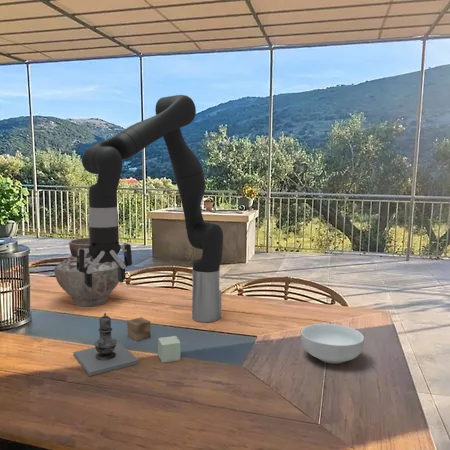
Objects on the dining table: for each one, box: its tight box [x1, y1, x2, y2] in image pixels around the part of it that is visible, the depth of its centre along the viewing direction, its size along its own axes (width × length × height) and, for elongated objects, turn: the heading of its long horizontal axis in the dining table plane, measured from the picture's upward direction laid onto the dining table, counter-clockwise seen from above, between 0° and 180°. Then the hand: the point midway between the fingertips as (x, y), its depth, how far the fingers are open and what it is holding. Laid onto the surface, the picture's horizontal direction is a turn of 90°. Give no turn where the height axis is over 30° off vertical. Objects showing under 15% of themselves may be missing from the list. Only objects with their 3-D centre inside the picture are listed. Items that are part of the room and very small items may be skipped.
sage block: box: [157, 335, 181, 363], centre depth 118 cm, size 5×5×5 cm
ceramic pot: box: [53, 237, 120, 308], centre depth 163 cm, size 25×25×24 cm
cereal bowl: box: [300, 323, 365, 364], centre depth 120 cm, size 17×17×7 cm
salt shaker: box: [93, 312, 118, 360], centre depth 115 cm, size 6×6×12 cm
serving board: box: [73, 341, 140, 377], centre depth 116 cm, size 13×14×1 cm
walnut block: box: [126, 316, 151, 342], centre depth 132 cm, size 5×5×5 cm
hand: (105, 284), depth 115 cm, fingers open, 8 cm apart
